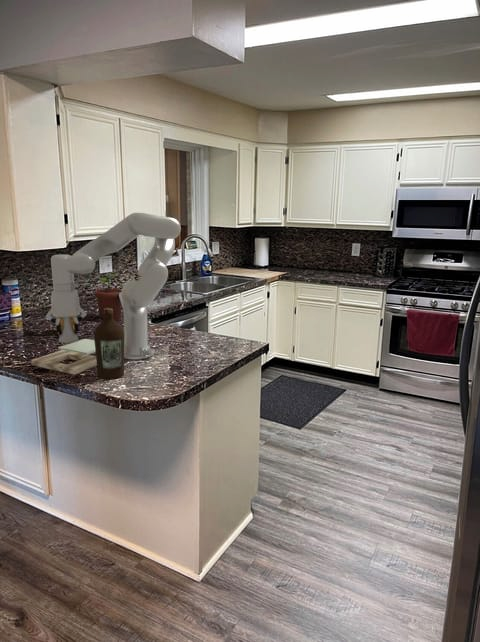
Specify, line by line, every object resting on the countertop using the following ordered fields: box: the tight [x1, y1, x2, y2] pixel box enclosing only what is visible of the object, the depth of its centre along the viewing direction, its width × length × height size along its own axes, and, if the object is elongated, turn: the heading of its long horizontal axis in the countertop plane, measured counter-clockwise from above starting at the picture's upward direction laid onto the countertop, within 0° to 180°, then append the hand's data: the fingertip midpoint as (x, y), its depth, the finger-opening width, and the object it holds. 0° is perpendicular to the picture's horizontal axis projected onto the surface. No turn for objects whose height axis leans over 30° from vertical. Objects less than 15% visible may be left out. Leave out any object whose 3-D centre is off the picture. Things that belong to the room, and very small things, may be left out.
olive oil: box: [93, 308, 125, 380], centre depth 167 cm, size 11×11×25 cm
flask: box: [58, 317, 80, 344], centre depth 178 cm, size 7×7×10 cm
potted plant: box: [93, 273, 123, 323], centre depth 252 cm, size 18×22×25 cm
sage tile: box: [57, 338, 96, 355], centre depth 203 cm, size 16×16×1 cm
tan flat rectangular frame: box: [31, 350, 97, 375], centre depth 181 cm, size 22×16×2 cm
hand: (68, 333), depth 178 cm, fingers closed on flask, 5 cm apart
